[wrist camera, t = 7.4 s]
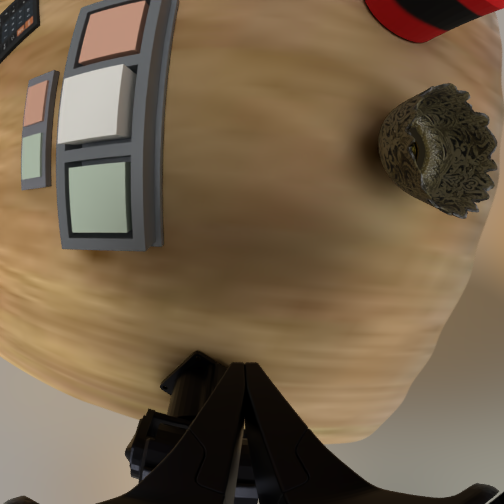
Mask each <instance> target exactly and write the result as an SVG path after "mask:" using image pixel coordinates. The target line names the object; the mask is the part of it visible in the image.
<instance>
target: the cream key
mask: <svg viewBox="0 0 504 504" xmlns="http://www.w3.org/2000/svg"><path fill="white" fill-rule="evenodd" d="M136 78H137V75H136V74H135V73H134V72H133V71H131V70H130V69H129V68H128V67H127V66H125V65H124V64H121V65H116V66H111V67H106V68H102V69H98V70H94V71H90V72H86V73H82V74H79V75H75V76H72V77H69V78H65V79H64V84H63V90H62V97H61V105H60V115H59V127H58V144H72V145H78V144H85V143H91V142H98V141H106V140H114V139H122V138H131V137H132V120H133V106H134V95H135V86H136Z"/></svg>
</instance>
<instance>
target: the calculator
mask: <svg viewBox="0 0 504 504" xmlns="http://www.w3.org/2000/svg"><path fill="white" fill-rule="evenodd" d="M39 26H40V16H39V0H15V1H14V2H13V3H12V4H11V5H10V6H8V7H7V8H6V9H5V10H4V11H3V12H2V13H1V14H0V63H1V62H2V61H3V60H4V59H5V58H6V57H7V56H8V55H9V54H10V53H11V52H12V51H13V50H14V49H15V48H16V47H17V46H18V45H19V44H20V43H21V42H22V41H23V40H24V39H25V38H26V37H27V36H29V35H30V34H31V33H32V32H33V31H34V30H35V29H36V28H38V27H39Z"/></svg>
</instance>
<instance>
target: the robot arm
mask: <svg viewBox="0 0 504 504" xmlns="http://www.w3.org/2000/svg"><path fill="white" fill-rule="evenodd" d="M196 356H198V357H200V358H197V357H196ZM165 386H166V387H165ZM160 388H161V389H162V390H163V391H165V392H167V393H168V394H170V395H171V399H170V404H169V408H168V412H167V415H166V414H162V413H158V412H155V410H151V409H148V412H147V414H146V416H145V415H144V416H143V418H142V419H140V421H139V424H138V427H137V431H136V433H135V435H134V437H133V439H132V440H131V442H130V443H129V445H128V446H127V448H126V451H125V456H126V458H127V459H128V461H129V462H130V468H131V477H133V478H137V479H139V484H138V485H137V486H135V487H134V488H133V489H132V490H130V491H129V492H127V493H125V494H123V495H121V496H119V497H116V498H113V499H110V500H107V501H103V502H100V503H97V504H257V503H258V499H259V503H260V504H485V503H486V502H488V501H489V500H490V499H491V498H493V497H494V496H495V495H496V494H497V493H498V492H499V490H497V489H496V488H495V487H493V486H490V485H485V484H479V483H476V484H474V485H472V486H470V487H469V488H467V489H466V490H464V491H462V492H461V493H459V494H457V495H455V496H451V497H445V498H433V497H425V496H417V495H410V494H405V493H399V492H394V491H389V490H384V489H381V488H378V487H376V486H374V485H372V484H370V483H369V482H367V481H366V480H364V479H363V478H362V477H360V476H359V475H358V474H357V473H355V472H354V471H353V470H352V469H350V468H349V467H348V466H347V465H345V464H344V463H343V462H342V461H341V460H339V459H338V458H337V457H336V456H335V455H334V454H333V453H332V452H331V451H329V450H328V449H327V448H326V447H325V446H324V445H323V444H322V442H321V441H320V440H319V439H318V438H317V437H316V436H315V435H314V434H313V432H312V431H311V430H310V429H308V426H307V425H306V424H305V423H304V422H303V420H302V419H301V418H300V417H299V416H298V414H297V413H296V412H295V411H294V409H293V408H292V407H291V406H290V404H289V403H288V402H287V401H286V399H285V398H284V397H283V396H282V394H281V393H280V392H279V390H278V389H277V388H276V387H275V385H274V384H273V383H272V381H271V380H270V379H269V377H268V376H267V375H266V373H265V372H264V371H263V369H262V368H261V367H260V365H259V364H258V363H256V362H246V363H245V365H244V363H243V362H232V363H231V364H230V366H229V367H228V369H227V368H226V367H224V366H222V365H221V364H219V363H217V362H215V361H214V360H212V359H211V358H209V357H208V356H206V355H205V354H203V353H201V352H198V351H197V352H194V353H193V354H192V355H191V356H190V357H189V358H188V359H186V360H185V361H184V362H183V363H182V364H181V365H180V366H179V367H178V368H177V369H176V370H175V371H174V372H172V373H171V374H170V375H169V376H168V377H167V378H166V379H165V380H164V381H163V382H162V383H161V385H160ZM244 418H245V429H244ZM4 504H39V503H37V502H35V501H33V500H32V499H30V498H28V497H26V496H20V497H16V498H13V499H10V500H8V501H7V502H5V503H4ZM489 504H504V492H503V493H502V494H500V495H499V496H498V497H497V498H495V499H494V500H493V501H491V502H490V503H489Z"/></svg>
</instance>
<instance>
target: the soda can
mask: <svg viewBox="0 0 504 504" xmlns="http://www.w3.org/2000/svg"><path fill="white" fill-rule="evenodd" d="M365 2H366V4H367V6H368V7H369V9H370V11H371V12H372V14H373V15H374V16H375V17H376V18H377V19H378V21H379V22H380V23H381V24H383V25H384V26H385V27H386V28H387V29H389V30H390V31H392V32H393V33H395V34H396V35H398V36H400V37H402V38H405V39H407V40H409V41H413V42H420V43H422V42H426V41H428V40H430V39H432V38H434V37H436V36H438V35H441V34H443V33H445V32H447V31H449V30H451V29H453V28H455V27H458V26H460V25H462V24H464V23H467V22H469V21H471V20H474V19H476V18H479V17H481V16H484V15H486V14H489V13H492V12H494V11H497V10H500V9H503V8H504V0H365Z"/></svg>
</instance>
